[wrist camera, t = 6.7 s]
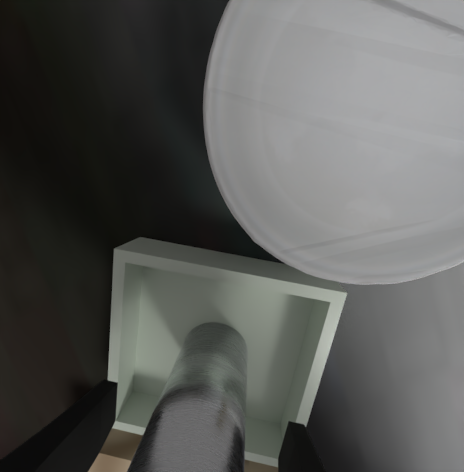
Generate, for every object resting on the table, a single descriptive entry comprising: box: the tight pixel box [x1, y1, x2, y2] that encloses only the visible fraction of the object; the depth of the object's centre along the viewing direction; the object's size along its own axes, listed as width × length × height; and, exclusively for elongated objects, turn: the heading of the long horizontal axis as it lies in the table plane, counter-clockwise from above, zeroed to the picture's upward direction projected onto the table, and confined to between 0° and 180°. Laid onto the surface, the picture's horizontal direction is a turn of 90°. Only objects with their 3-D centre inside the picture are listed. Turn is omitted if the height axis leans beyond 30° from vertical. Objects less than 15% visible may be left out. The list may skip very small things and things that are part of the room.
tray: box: [108, 237, 347, 467], centre depth 13 cm, size 11×11×3 cm
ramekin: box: [203, 0, 464, 285], centre depth 9 cm, size 11×11×5 cm
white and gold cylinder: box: [127, 322, 248, 472], centre depth 10 cm, size 4×4×8 cm
